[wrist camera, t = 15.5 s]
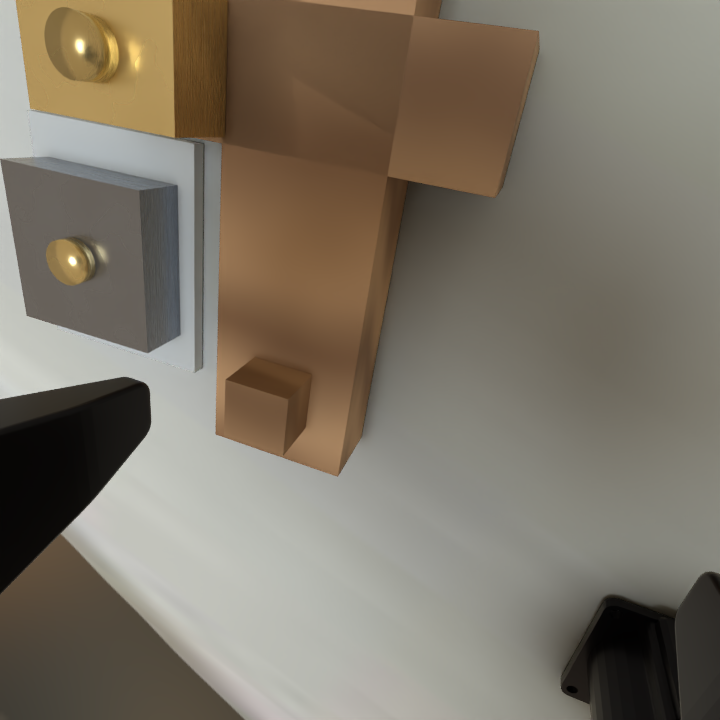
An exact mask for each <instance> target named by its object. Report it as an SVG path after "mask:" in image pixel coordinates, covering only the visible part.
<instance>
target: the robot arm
mask: <svg viewBox="0 0 720 720" xmlns="http://www.w3.org/2000/svg"><path fill="white" fill-rule="evenodd" d="M150 426H151V406H150V390H149V388H148V386H147V385H146V384H145V383H144V382H141V381H138V380H135V379H132V378H128V377H121V378H115V379H110V380H104V381H99V382H93V383H87V384H82V385H76V386H71V387H65V388H60V389H54V390H49V391H43V392H38V393H32V394H27V395H21V396H16V397H10V398H5V399H0V594H1V593H2V592H3V591H4V590H5V589H6V588H7V587H8V586H9V585H10V584H11V583H12V582H13V581H14V580H15V579H16V578H17V577H18V576H19V575H20V574H21V573H22V572H23V571H24V570H25V569H26V568H27V567H28V566H29V565H30V564H31V563H32V562H33V561H34V560H35V559H36V558H37V557H38V556H39V555H40V554H41V553H42V552H43V551H44V550H45V549H46V548H47V547H48V546H49V545H50V544H51V543H52V542H53V541H54V540H55V539H56V538H57V537H58V536H59V535H60V534H61V533H62V532H63V531H64V530H65V529H66V528H67V527H68V526H69V525H70V524H71V523H72V521H73V520H74V519H75V518H76V517H77V516H78V515H79V514H80V513H81V512H82V511H83V510H84V509H85V508H86V507H87V506H88V505H89V504H90V503H91V502H92V501H93V500H94V498H95V497H96V496H97V495H98V494H99V493H100V491H101V490H102V489H103V488H104V487H105V485H106V484H107V483H108V482H109V481H110V479H111V478H112V477H113V476H114V474H115V473H116V472H117V471H118V470H119V468H120V467H121V466H122V465H123V463H124V462H125V461H126V460H127V459H128V457H129V456H130V455H131V454H132V452H133V451H134V450H135V449H136V448H137V446H138V445H139V444H140V443H141V441H142V440H143V439H144V438H145V436H146V435H147V433H148V431H149V429H150ZM612 610H618V611H612ZM561 689H562V691H563V692H564V693H565V694H567V695H568V696H571V697H573V698H576V699H578V700H581V701H583V702H586V703H588V704H590V710H591V720H720V574H718V573H715V572H705V573H703V574H702V575H701V576H700V577H699V578H698V580H697V581H696V583H695V584H694V586H693V587H692V589H691V590H690V592H689V593H688V595H687V596H686V598H685V599H684V601H683V602H682V604H681V605H680V607H679V609H678V611H677V614H676V618H675V619H674V618H671V617H668V616H665V615H662V614H660V613H657V612H654V611H651V610H648V609H646V608H643V607H640V606H637V605H634V604H632V603H629V602H626V601H623V600H620V599H616V598H609V599H606V600H605V601H604V602H603V603H602V605H601V607H600V608H599V610H598V612H597V614H596V616H595V617H594V619H593V621H592V623H591V625H590V626H589V628H588V630H587V632H586V634H585V635H584V637H583V639H582V641H581V643H580V644H579V646H578V648H577V650H576V652H575V653H574V655H573V657H572V659H571V661H570V662H569V664H568V666H567V668H566V670H565V671H564V673H563V675H562V677H561Z"/></svg>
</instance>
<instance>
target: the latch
mask: <svg viewBox="0 0 720 720" xmlns="http://www.w3.org/2000/svg"><path fill="white" fill-rule="evenodd" d="M16 6H17V13H18V21H19V28H20V35H21V43H22V50H23V58H24V65H25V72H26V80H27V87H28V94H29V102H30V109H35V110H40V111H45V112H50V113H55V114H60V115H65V116H70V117H75V118H80V119H85V120H90V121H95V122H100V123H104V124H109V125H114V126H119V127H124V128H129V129H134V130H139V131H144V132H149V133H154V134H159V135H164V136H169V137H174V138H196V137H225V109H226V67H227V25H228V1H227V0H16Z"/></svg>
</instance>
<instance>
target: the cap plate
mask: <svg viewBox="0 0 720 720" xmlns="http://www.w3.org/2000/svg"><path fill="white" fill-rule="evenodd" d="M0 160H1V166H2V172H3V178H4V184H5V190H6V196H7V201H8V207H9V213H10V219H11V225H12V231H13V237H14V243H15V249H16V254H17V260H18V266H19V272H20V278H21V284H22V290H23V296H24V302H25V307H26V313H27V316H29V317H33V318H36V319H39V320H42V321H45V322H49V323H52V324H55V325H58V326H61V327H65V328H68V329H71V330H74V331H77V332H81V333H84V334H87V335H90V336H93V337H97V338H100V339H103V340H106V341H109V342H113V343H116V344H119V345H122V346H125V347H129V348H132V349H135V350H138V351H141V352H145V353H150V352H151V351H153V350H155V349H157V348H159V347H160V346H162V345H164V344H166V343H167V342H169V341H171V340H173V339H175V338H176V337H178V336H180V335H181V329H180V277H179V226H178V185H175V184H170V183H166V182H161V181H157V180H152V179H148V178H143V177H139V176H134V175H130V174H125V173H121V172H116V171H112V170H107V169H103V168H98V167H93V166H89V165H84V164H80V163H75V162H71V161H66V160H62V159H57V158H53V157H29V158H7V159H0Z"/></svg>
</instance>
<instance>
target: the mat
mask: <svg viewBox="0 0 720 720" xmlns="http://www.w3.org/2000/svg"><path fill="white" fill-rule="evenodd" d="M27 113H28V120H29V127H30V134H31V142H32V149H33V156H34V157H53V158H57V159H62V160H66V161H71V162H75V163H80V164H84V165H89V166H93V167H98V168H103V169H107V170H112V171H116V172H121V173H125V174H130V175H134V176H139V177H143V178H148V179H152V180H157V181H161V182H166V183H170V184H175V185H178V226H179V277H180V329H181V335H180V336H178V337H176V338H175V339H173V340H171V341H169V342H167V343H166V344H164V345H162V346H160V347H159V348H157V349H155V350H153V351H151V352H150V353H145V352H141V351H138V350H135V349H132V348H129V347H125V346H122V345H119V344H116V343H113V342H109V341H106V340H103V339H100V338H97V337H93V336H90V335H87V334H84V333H81V332H77V331H74V330H71V329H68V328H65V327H61V326H58V325H57V329H58V330H61V331H65V332H68V333H71V334H74V335H77V336H80V337H83V338H87V339H90V340H93V341H96V342H99V343H102V344H105V345H108V346H112V347H115V348H118V349H121V350H124V351H127V352H130V353H134V354H137V355H140V356H143V357H146V358H149V359H152V360H155V361H159V362H162V363H165V364H168V365H171V366H174V367H177V368H181V369H184V370H187V371H190V372H193V373H195V372H197V371H198V370H200V369H201V368H202V301H203V144H202V143H198V142H193V141H188V140H183V139H178V138H173V137H168V136H163V135H158V134H153V133H148V132H143V131H138V130H133V129H128V128H123V127H118V126H113V125H108V124H103V123H99V122H94V121H89V120H84V119H79V118H74V117H69V116H64V115H59V114H54V113H49V112H44V111H37V110H27Z"/></svg>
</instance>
